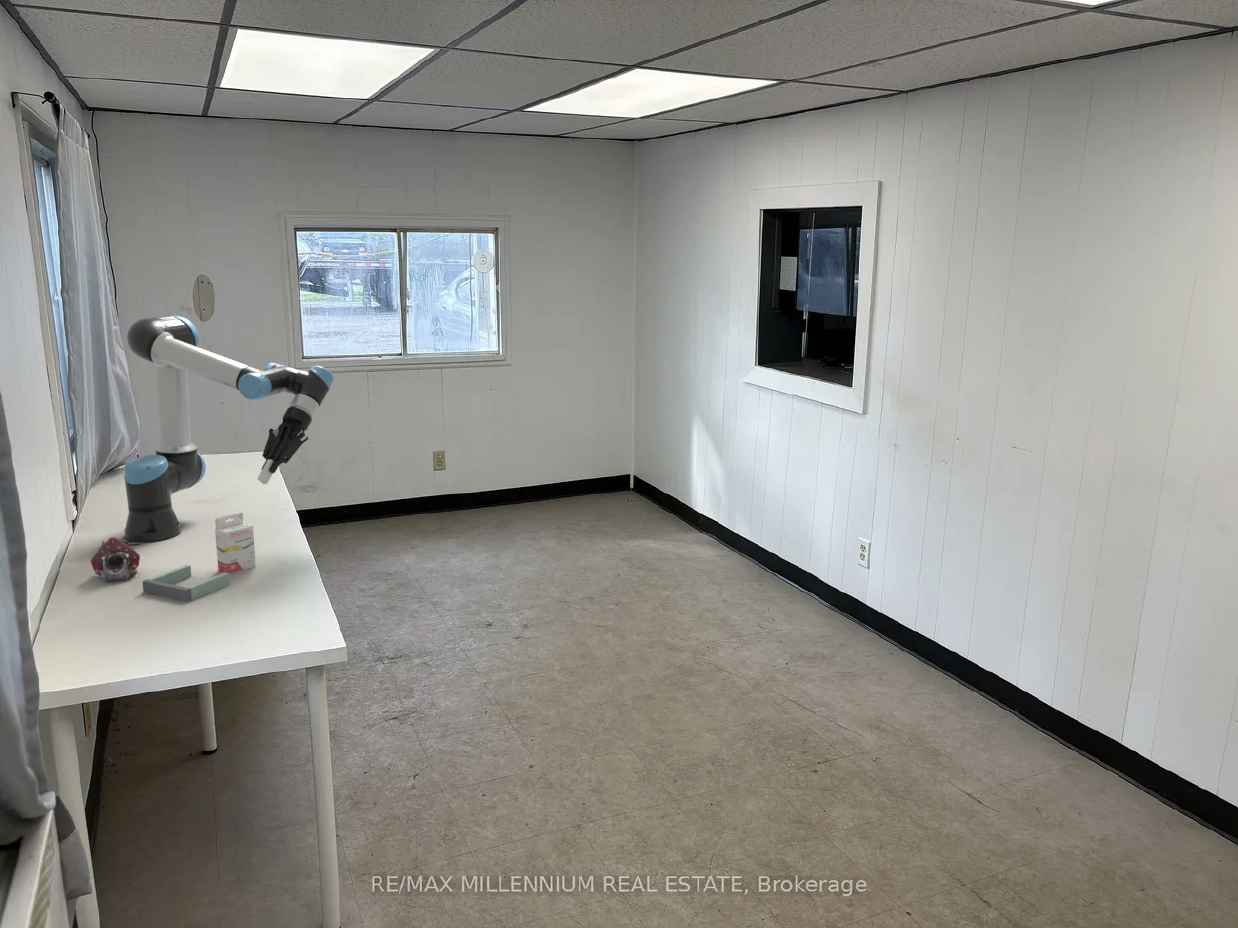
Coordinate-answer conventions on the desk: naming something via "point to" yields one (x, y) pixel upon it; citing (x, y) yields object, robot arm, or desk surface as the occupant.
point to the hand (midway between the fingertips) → (261, 481)
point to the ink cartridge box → (234, 544)
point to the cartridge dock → (164, 586)
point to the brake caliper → (115, 561)
